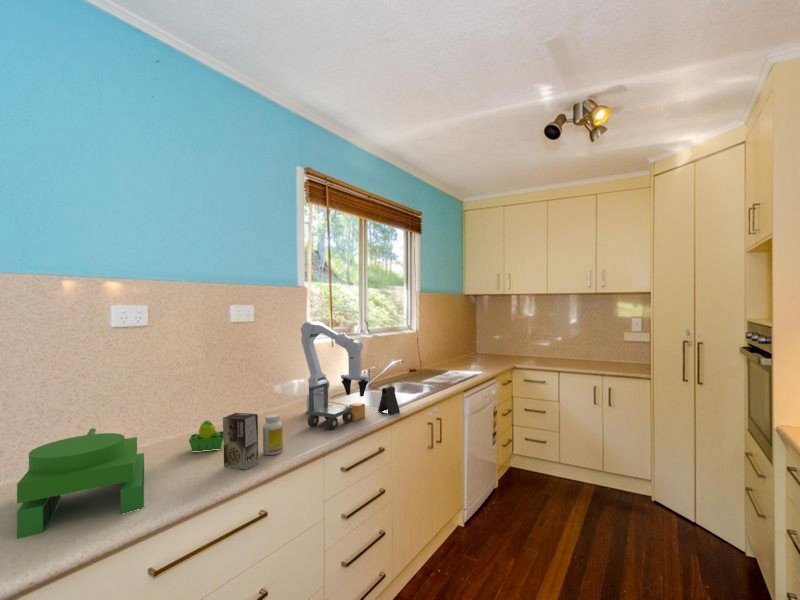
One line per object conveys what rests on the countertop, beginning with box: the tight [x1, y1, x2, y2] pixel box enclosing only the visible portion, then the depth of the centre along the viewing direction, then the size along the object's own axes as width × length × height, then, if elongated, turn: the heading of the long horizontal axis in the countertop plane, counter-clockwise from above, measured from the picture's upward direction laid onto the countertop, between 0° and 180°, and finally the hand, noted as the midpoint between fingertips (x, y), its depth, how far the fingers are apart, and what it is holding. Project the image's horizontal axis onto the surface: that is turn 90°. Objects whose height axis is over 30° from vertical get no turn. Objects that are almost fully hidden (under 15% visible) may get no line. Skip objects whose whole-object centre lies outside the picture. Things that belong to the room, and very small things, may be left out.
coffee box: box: [222, 412, 260, 471], centre depth 130 cm, size 9×6×16 cm
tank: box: [16, 427, 145, 540], centre depth 112 cm, size 24×35×16 cm
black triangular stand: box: [377, 386, 401, 416], centre depth 192 cm, size 9×6×12 cm, turn 47°
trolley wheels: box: [307, 411, 353, 431], centre depth 174 cm, size 12×16×5 cm
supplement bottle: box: [262, 413, 284, 456], centre depth 142 cm, size 7×7×13 cm
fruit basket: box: [188, 420, 223, 452], centre depth 145 cm, size 11×9×11 cm
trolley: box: [307, 382, 352, 418], centre depth 175 cm, size 14×13×12 cm
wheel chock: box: [349, 402, 366, 422], centre depth 183 cm, size 5×8×6 cm, turn 153°
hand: (355, 395), depth 188 cm, fingers open, 7 cm apart
